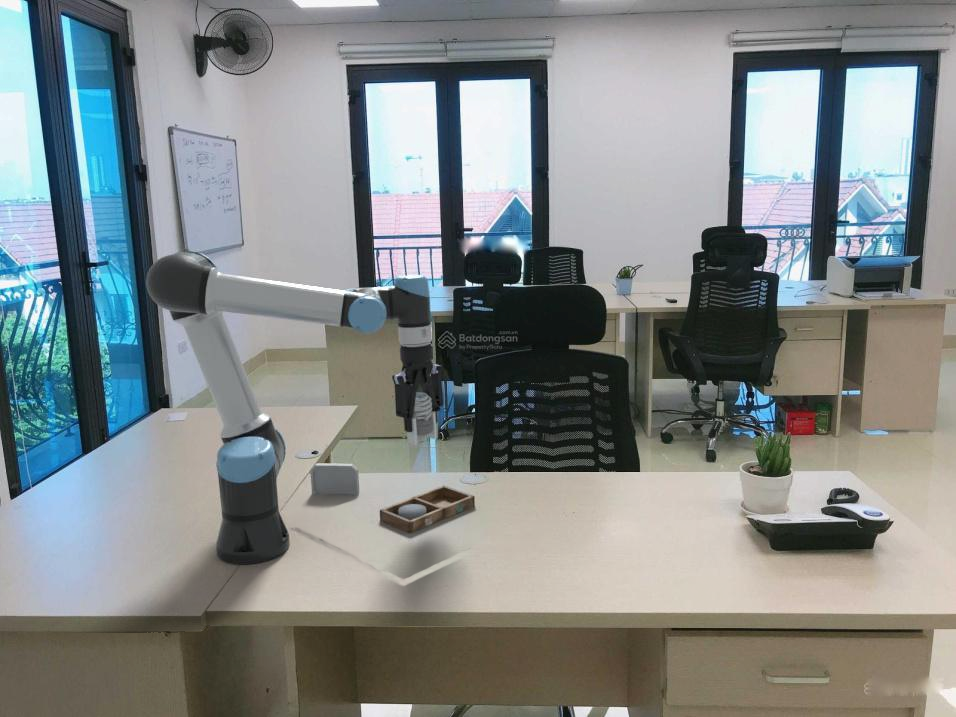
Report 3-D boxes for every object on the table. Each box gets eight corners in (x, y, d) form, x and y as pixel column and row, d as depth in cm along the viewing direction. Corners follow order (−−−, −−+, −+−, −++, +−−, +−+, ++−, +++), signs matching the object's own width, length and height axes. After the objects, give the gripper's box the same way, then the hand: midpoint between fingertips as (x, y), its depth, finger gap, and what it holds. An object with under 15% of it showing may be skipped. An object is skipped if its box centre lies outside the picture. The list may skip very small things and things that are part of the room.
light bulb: (405, 444, 179) (402, 394, 177) (418, 437, 184) (415, 388, 182) (426, 446, 177) (423, 396, 174) (438, 439, 182) (435, 390, 179)
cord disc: (411, 527, 173) (411, 517, 173) (393, 519, 178) (392, 510, 177) (432, 518, 178) (432, 509, 177) (413, 511, 182) (413, 501, 182)
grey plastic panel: (357, 495, 196) (356, 465, 194) (311, 494, 197) (309, 465, 195) (359, 492, 198) (357, 463, 196) (313, 491, 199) (312, 462, 197)
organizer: (411, 537, 170) (410, 522, 170) (380, 524, 178) (379, 509, 177) (475, 509, 185) (475, 496, 184) (444, 498, 192) (443, 485, 191)
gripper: (395, 352, 167) (403, 454, 172) (456, 338, 180) (461, 433, 184) (373, 348, 172) (381, 448, 177) (434, 335, 185) (439, 428, 190)
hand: (422, 440), depth 181 cm, fingers closed on light bulb, 5 cm apart
